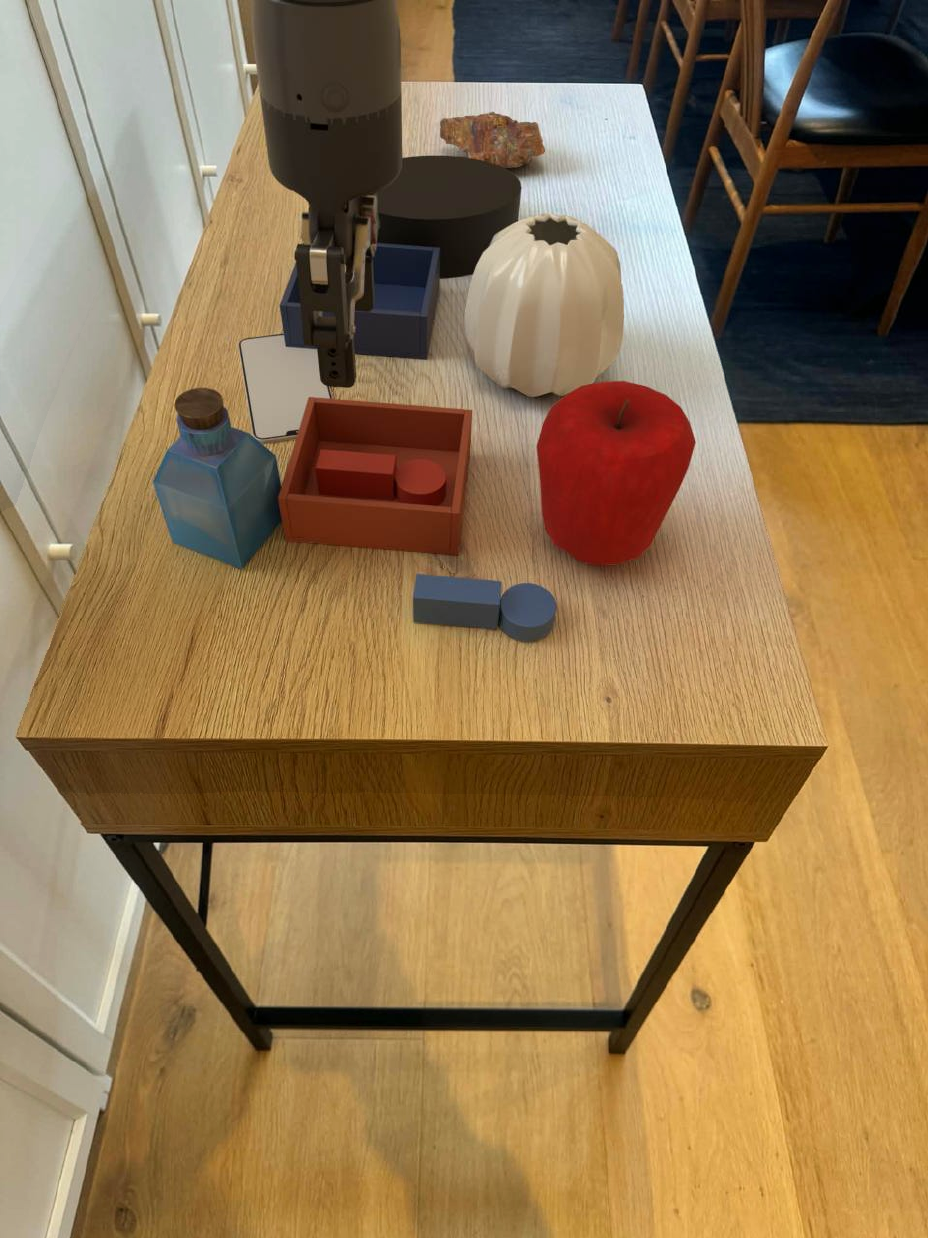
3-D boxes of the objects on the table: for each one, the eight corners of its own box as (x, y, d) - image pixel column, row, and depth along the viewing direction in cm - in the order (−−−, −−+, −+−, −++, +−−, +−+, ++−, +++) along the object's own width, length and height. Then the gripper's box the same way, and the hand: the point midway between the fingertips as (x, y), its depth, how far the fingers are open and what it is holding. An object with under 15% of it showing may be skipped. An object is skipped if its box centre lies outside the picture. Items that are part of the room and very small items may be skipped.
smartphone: (315, 329, 84) (341, 429, 75) (316, 335, 85) (342, 435, 76) (236, 338, 83) (253, 441, 74) (237, 344, 84) (254, 447, 75)
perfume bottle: (286, 516, 69) (264, 389, 60) (241, 569, 66) (210, 444, 56) (219, 491, 71) (187, 363, 61) (172, 542, 67) (130, 415, 58)
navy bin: (285, 348, 83) (279, 305, 79) (309, 279, 90) (304, 237, 86) (426, 359, 82) (426, 316, 79) (439, 289, 90) (440, 247, 86)
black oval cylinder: (522, 286, 92) (534, 215, 87) (347, 279, 90) (347, 205, 84) (504, 219, 101) (513, 150, 96) (345, 211, 99) (345, 140, 93)
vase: (457, 327, 86) (461, 188, 75) (599, 323, 87) (623, 186, 76) (471, 420, 77) (477, 278, 67) (628, 414, 78) (659, 274, 68)
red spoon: (316, 502, 70) (312, 475, 67) (325, 467, 72) (322, 441, 70) (443, 512, 69) (443, 486, 67) (448, 477, 72) (448, 451, 70)
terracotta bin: (285, 541, 68) (277, 498, 64) (314, 439, 75) (308, 396, 71) (458, 555, 67) (459, 513, 64) (470, 452, 75) (472, 409, 71)
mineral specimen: (446, 168, 102) (443, 101, 99) (440, 176, 109) (438, 114, 107) (549, 165, 103) (549, 98, 100) (537, 173, 110) (537, 111, 108)
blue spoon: (411, 632, 63) (411, 607, 61) (418, 589, 65) (417, 563, 63) (553, 644, 62) (557, 620, 60) (554, 601, 65) (558, 575, 63)
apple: (652, 493, 72) (691, 350, 62) (673, 590, 66) (720, 449, 55) (522, 492, 72) (539, 348, 61) (531, 590, 66) (551, 448, 55)
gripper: (286, 26, 52) (312, 282, 64) (227, 135, 43) (271, 407, 55) (415, 35, 51) (416, 290, 64) (383, 147, 43) (391, 417, 55)
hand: (349, 344), depth 60 cm, fingers open, 8 cm apart
